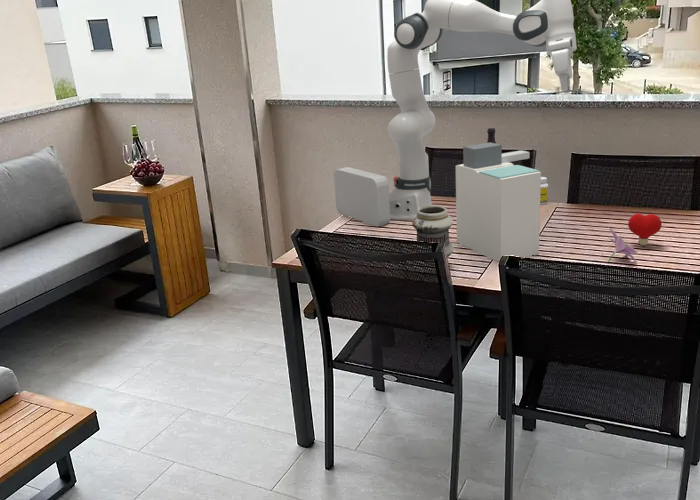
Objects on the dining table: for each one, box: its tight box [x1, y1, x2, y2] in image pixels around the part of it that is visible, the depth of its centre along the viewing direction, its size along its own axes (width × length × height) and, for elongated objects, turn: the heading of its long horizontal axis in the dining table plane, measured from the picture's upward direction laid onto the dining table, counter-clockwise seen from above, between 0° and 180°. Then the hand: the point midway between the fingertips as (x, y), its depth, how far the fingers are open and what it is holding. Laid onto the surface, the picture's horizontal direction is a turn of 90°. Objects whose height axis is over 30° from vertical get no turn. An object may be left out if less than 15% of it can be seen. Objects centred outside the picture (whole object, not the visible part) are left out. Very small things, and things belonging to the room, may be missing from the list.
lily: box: [607, 226, 639, 264], centre depth 191 cm, size 12×12×10 cm
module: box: [462, 142, 531, 169], centre depth 208 cm, size 22×6×6 cm, turn 114°
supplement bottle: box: [540, 176, 549, 205], centre depth 254 cm, size 5×5×10 cm
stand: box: [455, 162, 542, 263], centre depth 206 cm, size 14×24×26 cm, turn 24°
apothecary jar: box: [411, 204, 455, 268], centre depth 196 cm, size 12×12×18 cm
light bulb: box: [627, 213, 662, 247], centre depth 202 cm, size 9×7×10 cm
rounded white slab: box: [333, 166, 391, 228], centre depth 249 cm, size 29×8×18 cm, turn 33°
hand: (565, 91), depth 207 cm, fingers open, 8 cm apart
